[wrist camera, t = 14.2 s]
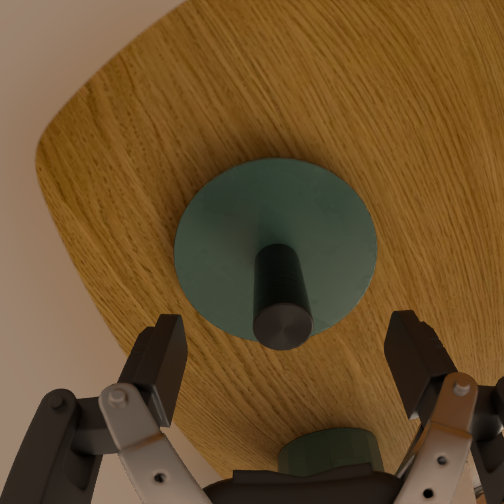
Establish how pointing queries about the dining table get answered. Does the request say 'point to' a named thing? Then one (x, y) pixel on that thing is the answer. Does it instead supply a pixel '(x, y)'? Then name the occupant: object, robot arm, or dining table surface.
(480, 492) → the planter
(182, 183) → the dining table surface
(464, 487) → the grater
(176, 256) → the lid
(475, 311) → the dining table surface
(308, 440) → the pot
